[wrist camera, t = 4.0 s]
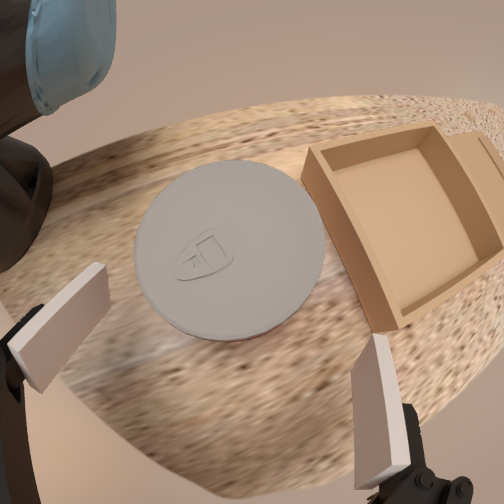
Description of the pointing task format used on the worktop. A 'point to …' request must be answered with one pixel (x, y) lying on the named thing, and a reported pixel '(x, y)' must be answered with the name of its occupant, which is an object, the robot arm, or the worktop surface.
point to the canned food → (229, 250)
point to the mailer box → (409, 214)
